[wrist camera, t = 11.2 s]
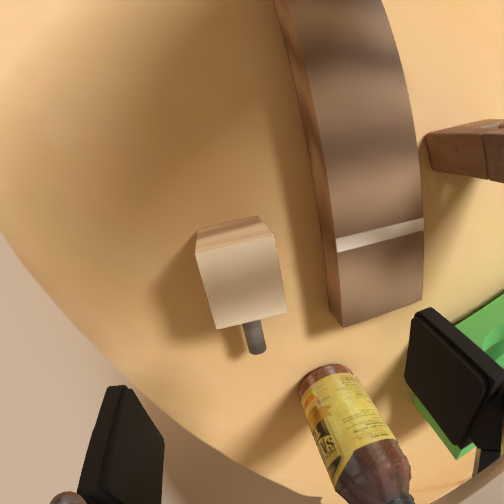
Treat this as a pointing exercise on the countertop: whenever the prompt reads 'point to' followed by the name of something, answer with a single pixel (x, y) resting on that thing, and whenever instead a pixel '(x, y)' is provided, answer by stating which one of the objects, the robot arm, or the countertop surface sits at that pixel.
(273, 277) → the block
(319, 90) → the walnut board
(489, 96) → the countertop surface
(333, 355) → the countertop surface
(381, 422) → the sauce bottle
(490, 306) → the green cradle stand
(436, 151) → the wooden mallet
